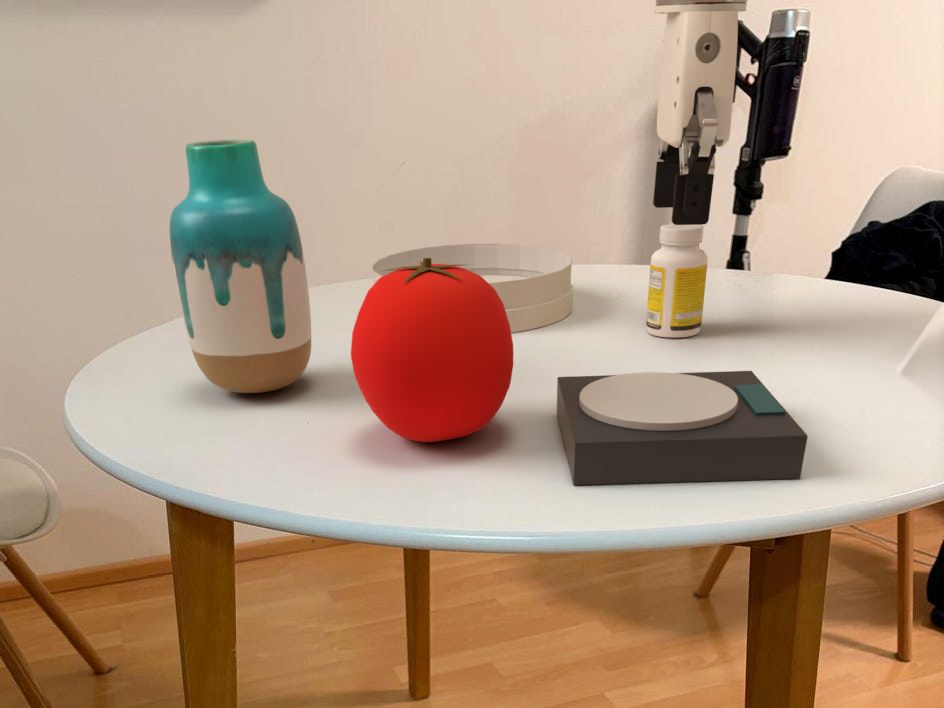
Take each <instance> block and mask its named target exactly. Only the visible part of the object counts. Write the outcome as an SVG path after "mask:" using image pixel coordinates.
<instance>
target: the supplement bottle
mask: <svg viewBox="0 0 944 708" xmlns="http://www.w3.org/2000/svg"><path fill="white" fill-rule="evenodd" d="M703 236H704V225H675V224H673V223H672V222H671V223H665V224H662V225H661V226H660V230H659V243H661V246H660V248H659V249H657V250H655V251H654V252H653V253H652V255H651V256H650V257H651V258H650V264H649V278H648V291H647V292H648V293H647V307H646V321H645V322H646V323H645V326H646V327H645V329H646V331H647V333H648V334H650V335H651V336H655V337H660V338H671V339H672V338H673V339H675V338H677V339H678V338H688V337H692V336H695V335H697V334H699V333H700V331H701V328H702V324H703V323H702V322H703V313H704V302H705V301H704V300H705V291H706V282H707V271H708V255H707V253H706V251H704V250H703V249H701V248H700V244H701V243H703V239H704V237H703Z"/></svg>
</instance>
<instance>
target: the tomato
mask: <svg viewBox="0 0 944 708" xmlns="http://www.w3.org/2000/svg"><path fill="white" fill-rule="evenodd" d="M420 263H421V265H419V266H411V267H400V268H395V269H390V270H395V271H393V272H391V273H389V274H387V275H385V276H383V277H381V278H379V279H378V281H377V282H376V283H375V284H374V283H373V285H372V286H371V287H370V288H369V289H368V290H367V292H366V295H365V297H364V299H363V301H362V304H361V306H360V308H359V310H358V313H357V316H356V320H355V323H354V326H353V329H352V333H351V346H350V359H351V364H352V368H353V374H354V377H355V381H356V383H357V385H358V388H359V390H360V392H361V394H362V396H363V398H364V400H365V401H366V403H367V405H368V406H369V408H370V410H371V411H372V413H373V415H375V416H376V417H377V418H378V419H379V420H380V422H381V423H382V424H383V425H384V426H385V427H386V428H387V429H389V431H391V432H393V433H394V434H396V435H398V436H399V437H402V438H404V439H406V440H410V441H415V442H422V443H437V442H441V441H442V442H443V441H447V440H448V441H449V440H453V439H459V438H463V437H466V436H468V435H471V434H474V433H476V432H478V431H480V430H482V429H484V428H485V426H486V425H488V423H490V422H491V421H492V420H493V418H494V417H495V416H496V415H497V413H498V412H499V410H500V409H501V407H502V405H503V403H504V401H505V399H506V396H507V395H508V392H509V389H510V387H511V382H512V376H513V370H514V341H513V336H512V333H511V329H510V324H509V321H508V318H507V314H506V311H505V308H504V304H503V302H502V301H501V299H500V297H499V296H498V294H497V292H496V290H495V289H494V288H493V287H492V286H491V285H490V284H489V283H488V282H487V281H485V280H484V279H483V278H482V277H481V276H479V275H477V274H475V273H473V272H470V271H468V270H466V269H463V268H461V267H457V266H461V265H447V264H431V258H423V262H422V261H420ZM471 265H472V264H471ZM396 269H397V270H396ZM385 271H389V270H385Z"/></svg>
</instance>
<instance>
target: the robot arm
mask: <svg viewBox="0 0 944 708" xmlns="http://www.w3.org/2000/svg"><path fill="white" fill-rule="evenodd" d="M747 3H748V0H655V7H654V14H655V15H656V14H661V15H662V14H663V15H666V22H665V29H664V37H663V47H662V57H661V66H660V76H659V87H658V99H657V112H656V113H657V114H656V134H657V136H658V138H659V139H660V142H659V147H658V152H657V161H656V164H655V165H656V167H655V177H654V186H653V199H652V205H653V206H654V208H658V209H662V208H664V209H665V208H672V210H671V223H673V224H675V225H703V226H704V225H707V224H708V222H709V219H710V211H711V203H712V195H713V186H714V178H715V174H714V173H715V170H716V169H715V168H716V156H715V154H717V147H718V148H722V147H724V146H725V145H726V144H727V143H728V142H729V140H730V136H731V127H732V125H731V124H732V116H733V104H734V93H735V84H736V83H735V82H736V68H737V55H738V36H739V35H738V34H739V13H740V12H746V11H747V5H748V4H747Z"/></svg>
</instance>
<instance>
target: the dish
mask: <svg viewBox="0 0 944 708" xmlns="http://www.w3.org/2000/svg"><path fill="white" fill-rule="evenodd" d="M423 258H431V264H447V265H461V266H457V267H461V268H463V269H466V270H468V271H470V272H473V273H475V274H477V275H479V276H481V277H482V278H483V279H484V280H485V281H487V282H488V283H489V284H490V285H491V286H492V287H493V288H494V289H495V290H496V292H497V294H498V296H499V297H500V299H501V301H502V302H503V304H504V308H505V311H506V314H507V318H508V321H509V324H510V329H511V334H513V333H520V332H526V331H531V330H534V329H539V328H543V327H547V326H550V325H552V324H554V323H558V322H560V321H563V320H564V319H565V318H567V317H568V316H569V315H570V314H571V313H572V308H573V291H574V290H573V287H574V285H573V284H572V264H573V259H572V257H570V255H568V254H567V253H565V252H562V251H560V250H557V249H552V248H548V247H543V246H538V245H530V244H529V245H528V244H516V243H461V244H446V245H438V246H427V247H421V248H416V249H411V250H405V251H401V252H397V253H393V254H389V255H388V256H385V257H382V258H380V259H378V260H377V261H376V262H374V263H373V264H372V273H373V285H374V284H375V283H376V282H377V281H378V279H379V278H381V277H383V276H385V275H387V274H389V273H391V272H393V271H395V270H390V269H395V268H400V267H411V266H419V265H421V263H420V261H422V262H423ZM471 264H472V265H471ZM385 270H389V271H385ZM396 270H397V269H396Z"/></svg>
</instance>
